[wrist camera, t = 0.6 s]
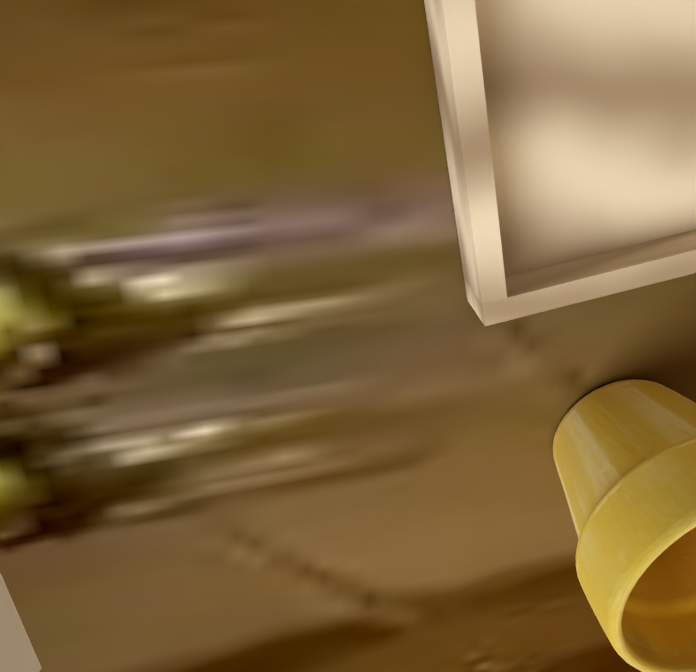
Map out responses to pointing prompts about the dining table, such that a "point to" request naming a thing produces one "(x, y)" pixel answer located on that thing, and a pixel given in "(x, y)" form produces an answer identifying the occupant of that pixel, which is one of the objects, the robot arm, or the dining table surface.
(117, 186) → the dining table surface
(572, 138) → the birch tray
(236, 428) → the dining table surface
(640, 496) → the plant pot
